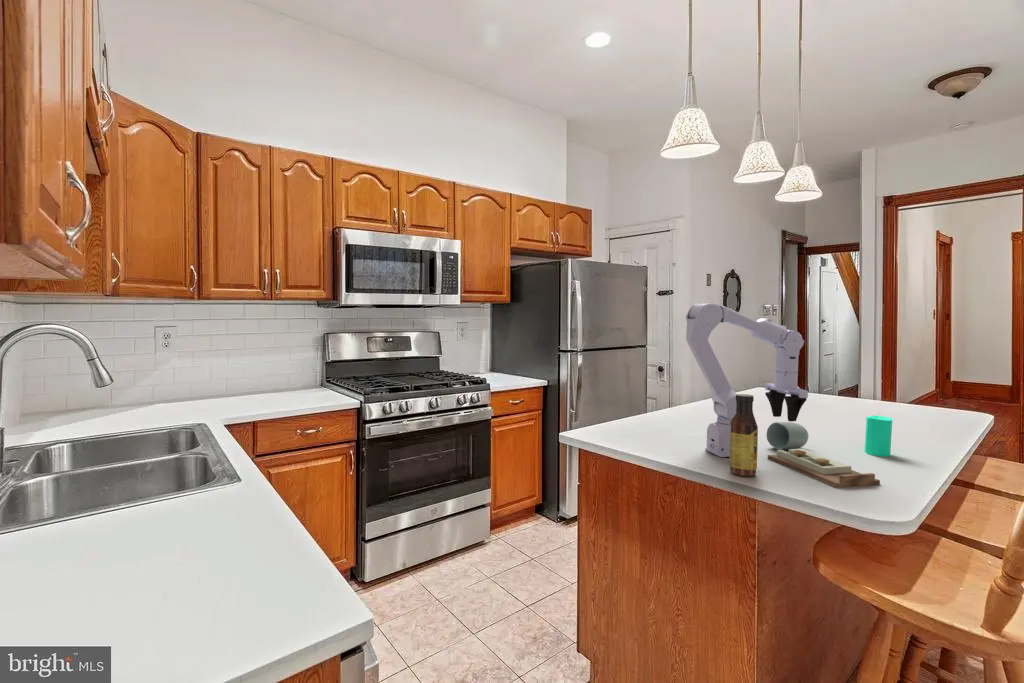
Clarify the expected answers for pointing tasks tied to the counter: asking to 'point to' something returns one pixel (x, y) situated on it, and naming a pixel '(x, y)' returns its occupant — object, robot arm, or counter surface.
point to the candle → (878, 435)
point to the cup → (787, 435)
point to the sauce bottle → (743, 438)
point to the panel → (814, 462)
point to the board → (831, 479)
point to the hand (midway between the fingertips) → (784, 418)
